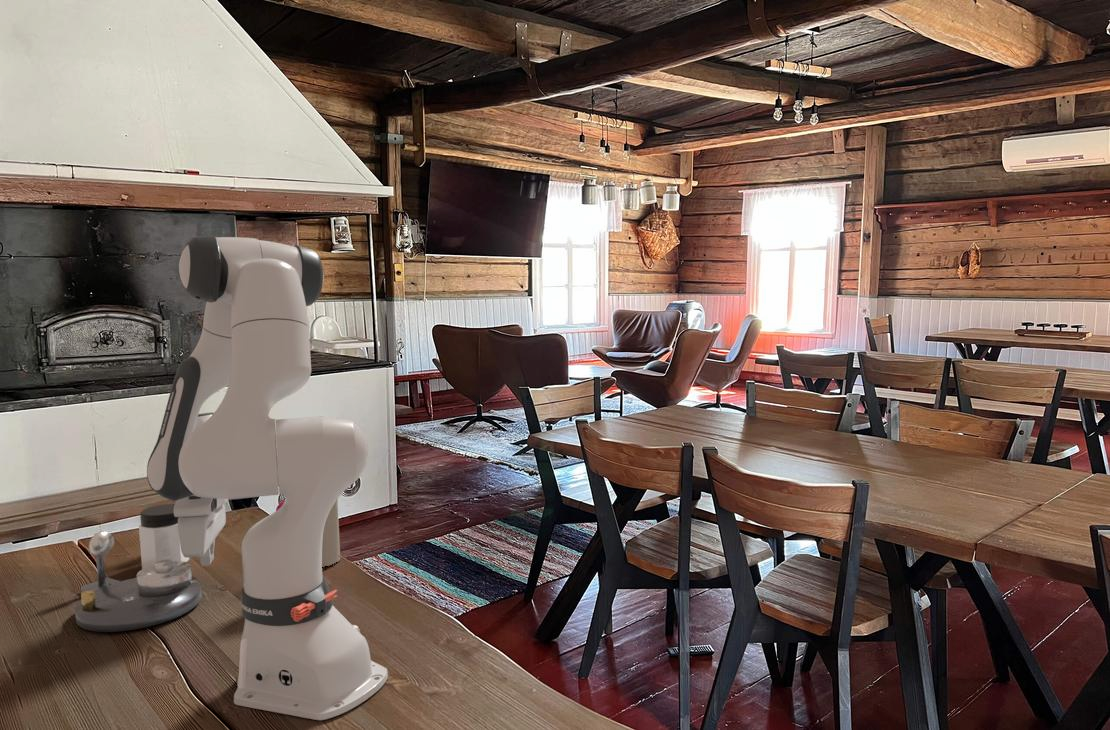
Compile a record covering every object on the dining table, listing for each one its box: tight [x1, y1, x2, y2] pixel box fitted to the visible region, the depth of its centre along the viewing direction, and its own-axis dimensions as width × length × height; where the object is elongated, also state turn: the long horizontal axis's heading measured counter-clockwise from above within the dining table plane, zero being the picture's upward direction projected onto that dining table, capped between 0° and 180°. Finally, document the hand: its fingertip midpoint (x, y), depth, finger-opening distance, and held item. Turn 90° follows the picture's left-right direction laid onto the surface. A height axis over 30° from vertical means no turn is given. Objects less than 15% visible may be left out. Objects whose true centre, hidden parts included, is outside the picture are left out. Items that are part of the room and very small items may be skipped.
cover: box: [136, 559, 193, 596], centre depth 142 cm, size 9×9×4 cm
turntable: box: [74, 577, 202, 633], centre depth 138 cm, size 20×20×5 cm
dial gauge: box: [81, 531, 121, 593], centre depth 145 cm, size 7×5×12 cm
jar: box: [138, 503, 190, 570], centre depth 159 cm, size 9×8×12 cm
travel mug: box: [322, 498, 341, 568], centre depth 159 cm, size 8×8×18 cm
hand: (207, 563), depth 150 cm, fingers closed
